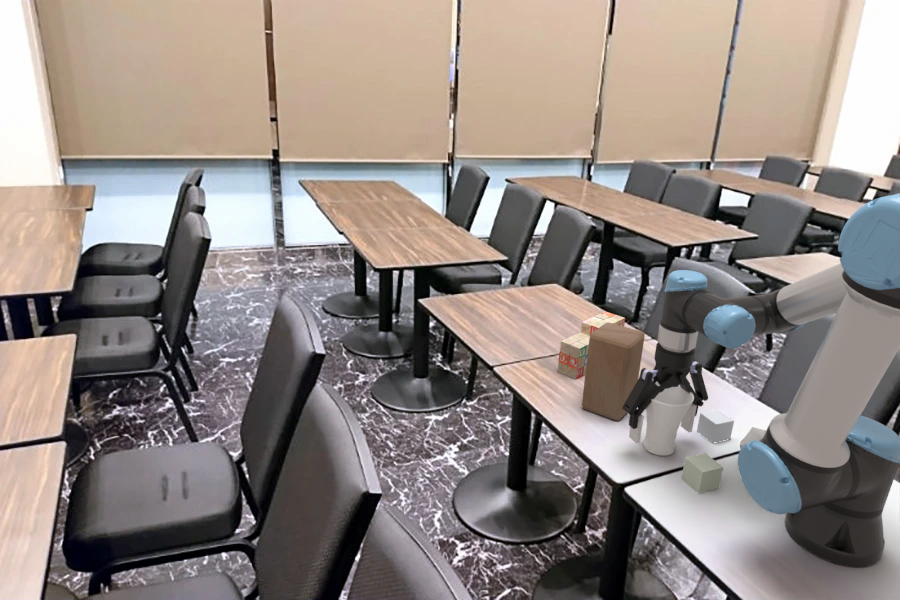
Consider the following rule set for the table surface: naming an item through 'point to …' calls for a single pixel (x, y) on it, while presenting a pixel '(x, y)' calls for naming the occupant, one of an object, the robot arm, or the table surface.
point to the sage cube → (702, 472)
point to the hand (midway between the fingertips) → (660, 434)
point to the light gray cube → (715, 426)
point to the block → (611, 369)
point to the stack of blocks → (582, 345)
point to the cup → (665, 419)
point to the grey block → (752, 436)
